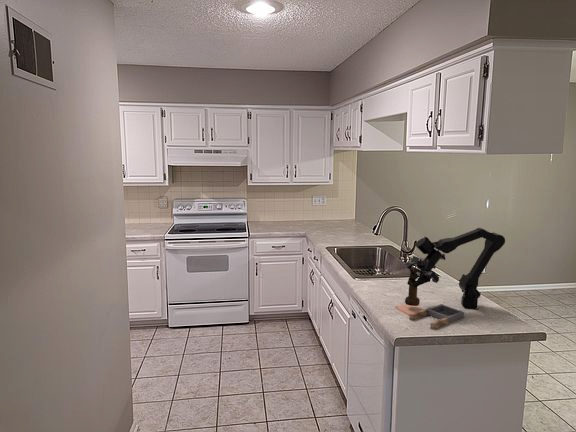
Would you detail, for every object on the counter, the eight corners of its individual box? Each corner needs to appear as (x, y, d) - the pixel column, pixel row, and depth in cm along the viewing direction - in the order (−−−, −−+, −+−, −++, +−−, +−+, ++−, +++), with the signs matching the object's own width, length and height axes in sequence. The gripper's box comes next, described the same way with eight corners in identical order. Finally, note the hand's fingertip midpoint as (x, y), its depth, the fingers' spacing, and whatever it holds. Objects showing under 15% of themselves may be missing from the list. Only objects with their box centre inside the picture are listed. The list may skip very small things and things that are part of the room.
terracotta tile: (412, 304, 207) (412, 303, 207) (428, 312, 197) (428, 311, 197) (394, 307, 203) (394, 306, 203) (409, 315, 193) (409, 314, 193)
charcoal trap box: (441, 308, 202) (441, 303, 202) (463, 317, 192) (464, 312, 192) (425, 314, 195) (425, 309, 195) (448, 323, 186) (448, 317, 185)
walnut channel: (424, 314, 195) (424, 309, 195) (447, 323, 185) (448, 318, 185) (409, 319, 189) (409, 314, 188) (432, 329, 179) (433, 323, 178)
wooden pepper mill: (416, 301, 203) (419, 265, 200) (421, 306, 196) (423, 269, 193) (403, 301, 202) (405, 265, 199) (407, 306, 196) (409, 269, 193)
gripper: (409, 245, 205) (389, 269, 203) (436, 255, 188) (415, 281, 186) (420, 259, 209) (401, 283, 207) (448, 269, 193) (427, 295, 190)
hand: (410, 285), depth 197 cm, fingers closed on wooden pepper mill, 4 cm apart
